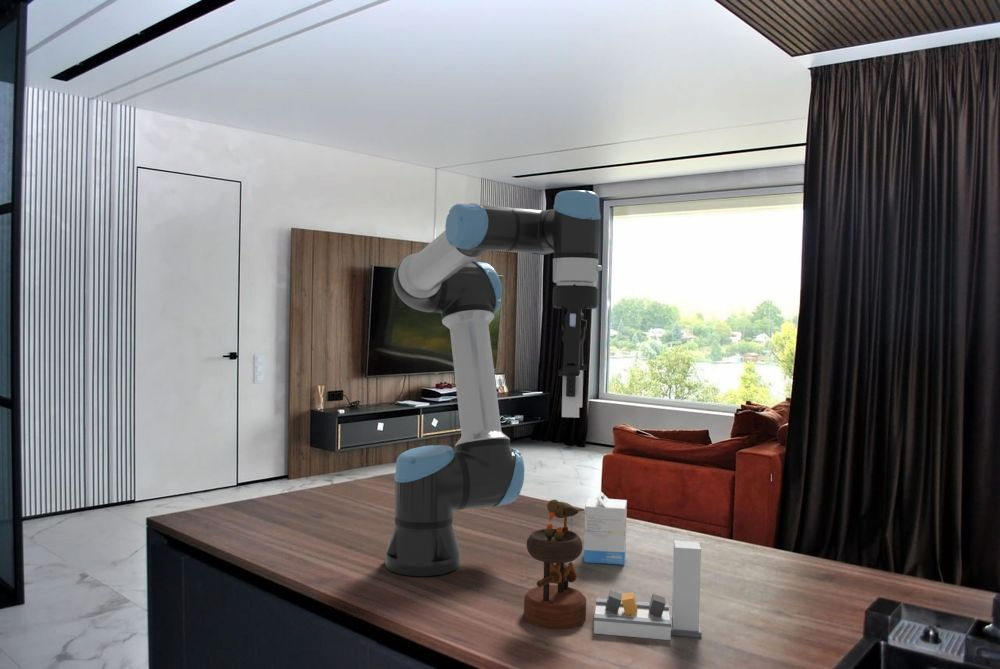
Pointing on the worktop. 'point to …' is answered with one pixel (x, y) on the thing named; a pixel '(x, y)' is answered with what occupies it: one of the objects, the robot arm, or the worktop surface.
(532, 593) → the music box
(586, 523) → the ink box
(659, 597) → the paddle
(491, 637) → the worktop surface
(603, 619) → the breaker board
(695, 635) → the post
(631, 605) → the paddle
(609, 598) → the paddle
